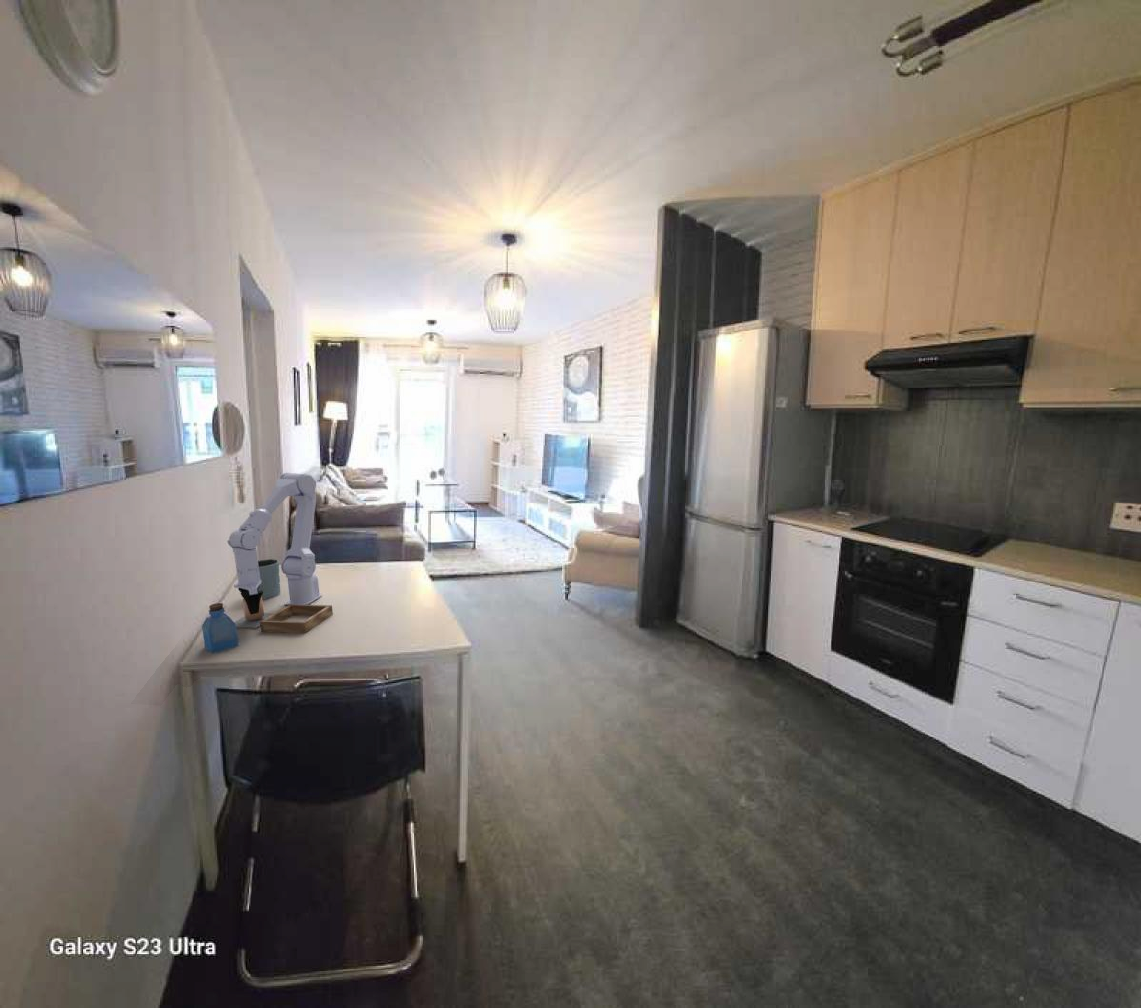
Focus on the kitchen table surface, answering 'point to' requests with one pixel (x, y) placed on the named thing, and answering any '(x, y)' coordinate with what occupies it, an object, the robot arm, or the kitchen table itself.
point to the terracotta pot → (256, 615)
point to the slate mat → (251, 622)
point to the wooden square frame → (277, 625)
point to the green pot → (269, 578)
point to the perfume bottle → (219, 630)
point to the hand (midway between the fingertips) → (253, 610)
